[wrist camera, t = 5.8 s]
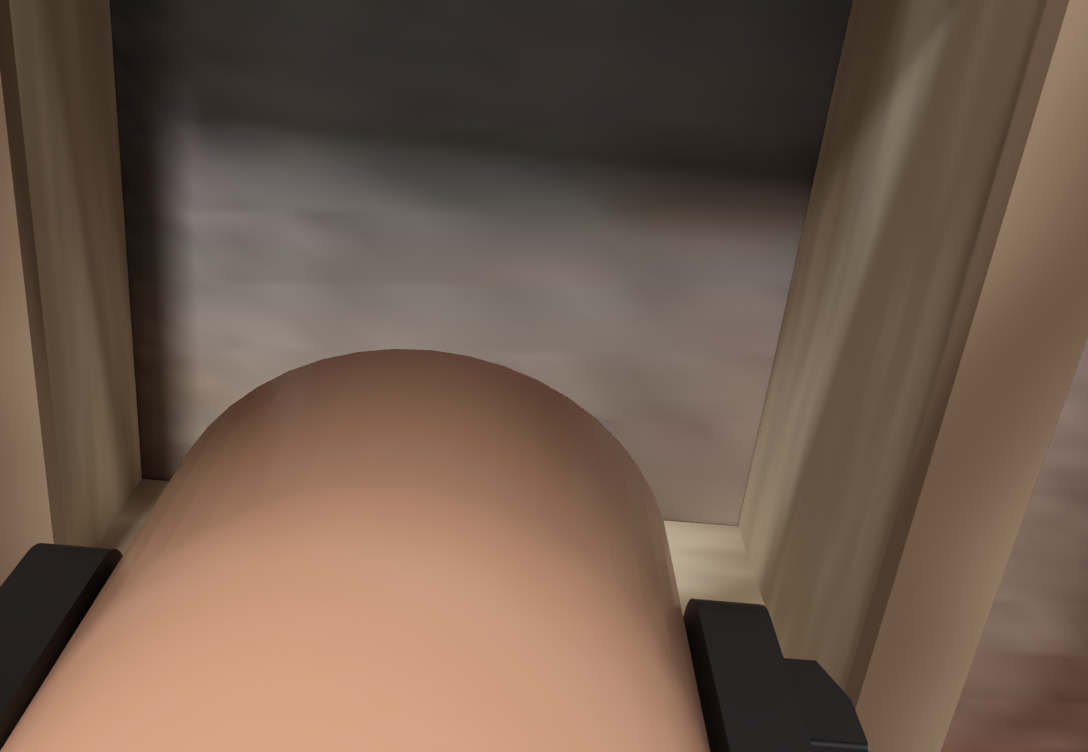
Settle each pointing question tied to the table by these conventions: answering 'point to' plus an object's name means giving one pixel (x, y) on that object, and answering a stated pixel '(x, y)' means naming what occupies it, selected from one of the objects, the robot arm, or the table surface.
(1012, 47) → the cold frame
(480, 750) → the seedling pot
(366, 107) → the table surface
